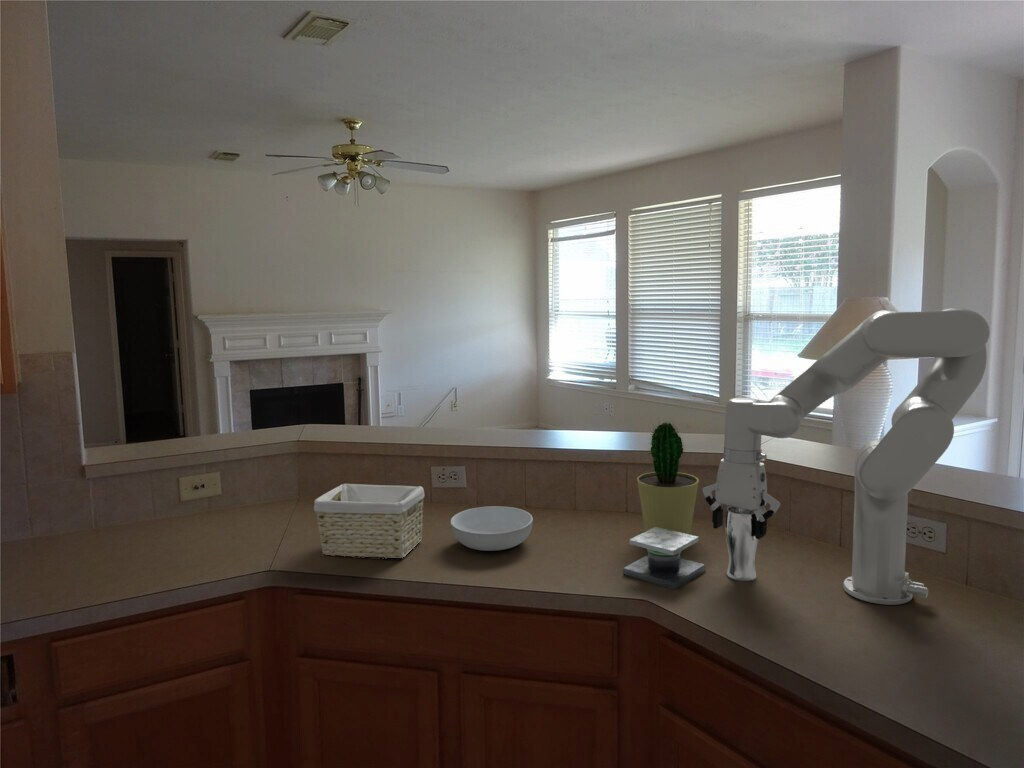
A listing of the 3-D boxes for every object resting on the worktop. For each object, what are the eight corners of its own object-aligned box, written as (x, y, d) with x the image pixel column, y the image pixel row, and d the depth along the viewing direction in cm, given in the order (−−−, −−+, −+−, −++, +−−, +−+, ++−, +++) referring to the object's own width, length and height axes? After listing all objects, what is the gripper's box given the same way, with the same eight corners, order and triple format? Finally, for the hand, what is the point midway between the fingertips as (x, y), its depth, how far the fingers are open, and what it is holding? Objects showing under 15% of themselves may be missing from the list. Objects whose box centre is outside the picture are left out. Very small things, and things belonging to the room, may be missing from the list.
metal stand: (704, 570, 159) (704, 536, 158) (674, 589, 149) (674, 553, 148) (654, 557, 168) (654, 524, 166) (623, 574, 158) (622, 540, 157)
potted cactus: (701, 546, 174) (702, 426, 170) (638, 544, 176) (637, 426, 172) (695, 525, 189) (696, 414, 185) (637, 524, 191) (636, 415, 187)
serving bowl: (440, 557, 172) (438, 530, 171) (465, 528, 192) (464, 504, 191) (523, 562, 167) (522, 534, 166) (540, 532, 187) (540, 507, 186)
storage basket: (314, 557, 175) (310, 499, 173) (345, 535, 190) (341, 481, 188) (404, 563, 169) (401, 503, 167) (428, 540, 184) (426, 485, 182)
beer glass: (760, 583, 151) (761, 515, 149) (726, 581, 153) (727, 514, 151) (755, 570, 158) (756, 505, 156) (723, 568, 160) (724, 504, 158)
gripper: (788, 459, 149) (784, 537, 151) (712, 446, 161) (710, 519, 163) (774, 465, 143) (770, 546, 146) (696, 452, 155) (694, 527, 158)
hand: (738, 532), depth 154 cm, fingers open, 9 cm apart
